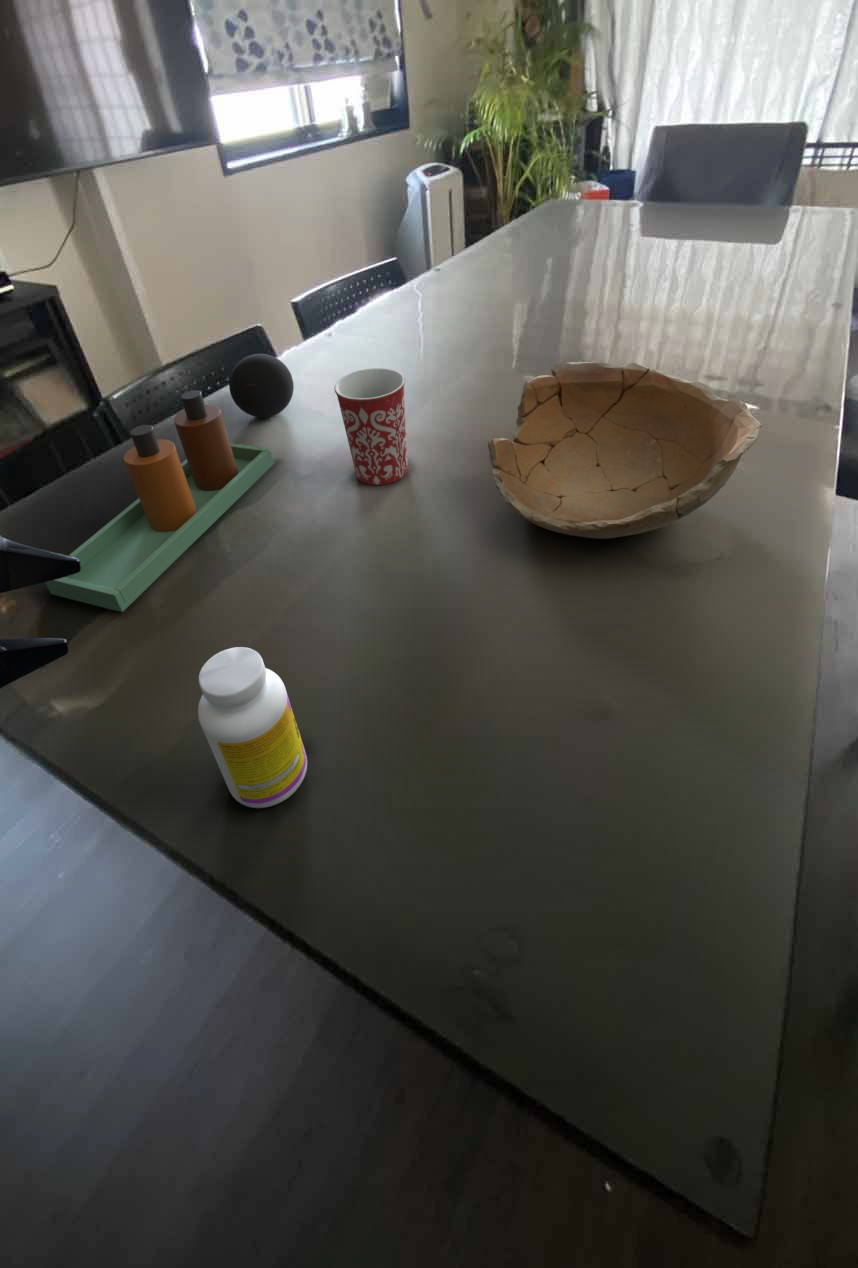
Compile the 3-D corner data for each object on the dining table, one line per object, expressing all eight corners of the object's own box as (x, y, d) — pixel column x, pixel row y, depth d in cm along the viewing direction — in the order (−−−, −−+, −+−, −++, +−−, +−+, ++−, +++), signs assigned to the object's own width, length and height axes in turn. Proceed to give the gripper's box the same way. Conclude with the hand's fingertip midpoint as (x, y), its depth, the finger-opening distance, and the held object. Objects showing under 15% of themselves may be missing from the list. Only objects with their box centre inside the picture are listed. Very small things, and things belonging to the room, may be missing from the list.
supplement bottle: (325, 770, 57) (295, 665, 49) (259, 828, 53) (217, 724, 46) (277, 726, 61) (243, 624, 53) (213, 778, 57) (167, 675, 50)
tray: (122, 612, 75) (114, 595, 73) (50, 594, 78) (41, 577, 77) (274, 464, 98) (270, 448, 97) (213, 455, 102) (209, 440, 100)
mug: (409, 490, 90) (398, 397, 82) (342, 489, 91) (326, 398, 84) (423, 442, 100) (414, 355, 92) (363, 442, 102) (349, 356, 94)
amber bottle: (177, 535, 85) (144, 445, 77) (139, 528, 87) (103, 439, 79) (206, 508, 89) (177, 420, 82) (170, 501, 91) (138, 415, 84)
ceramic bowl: (440, 506, 83) (448, 388, 76) (548, 443, 103) (562, 345, 95) (682, 604, 68) (721, 467, 61) (755, 509, 87) (791, 397, 80)
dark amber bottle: (222, 493, 92) (195, 407, 84) (186, 487, 94) (157, 402, 86) (247, 470, 96) (223, 386, 89) (212, 465, 98) (186, 382, 91)
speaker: (250, 435, 106) (234, 375, 100) (229, 412, 113) (213, 355, 108) (308, 415, 110) (296, 357, 104) (284, 394, 117) (272, 338, 112)
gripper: (-320, 620, 33) (45, 597, 39) (-173, 444, 48) (76, 446, 53) (-245, 770, 39) (65, 732, 44) (-134, 571, 53) (88, 561, 59)
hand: (74, 602), depth 50 cm, fingers open, 9 cm apart
